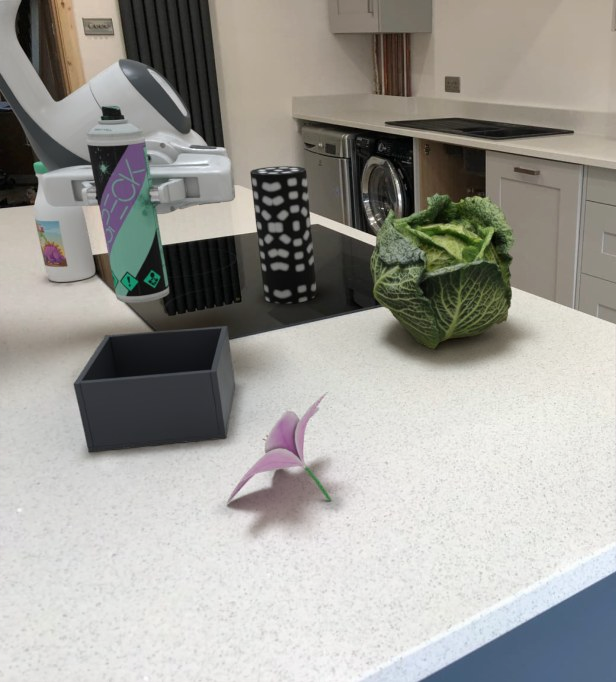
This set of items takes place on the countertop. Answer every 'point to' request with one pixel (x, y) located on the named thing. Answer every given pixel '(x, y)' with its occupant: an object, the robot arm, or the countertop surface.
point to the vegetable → (445, 268)
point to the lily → (284, 447)
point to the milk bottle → (62, 237)
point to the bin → (157, 388)
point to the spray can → (127, 208)
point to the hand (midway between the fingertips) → (123, 197)
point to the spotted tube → (284, 233)
